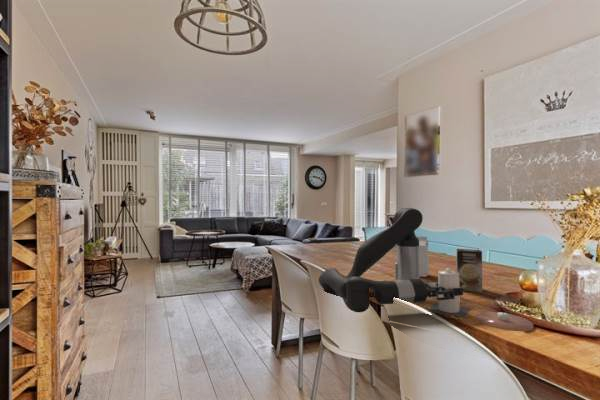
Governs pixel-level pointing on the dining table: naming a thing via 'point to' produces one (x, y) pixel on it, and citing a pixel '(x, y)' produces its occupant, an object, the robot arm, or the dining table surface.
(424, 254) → the milk carton
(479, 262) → the coffee box
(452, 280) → the cover
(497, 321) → the tea light plate
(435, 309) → the cover mat
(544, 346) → the dining table surface
